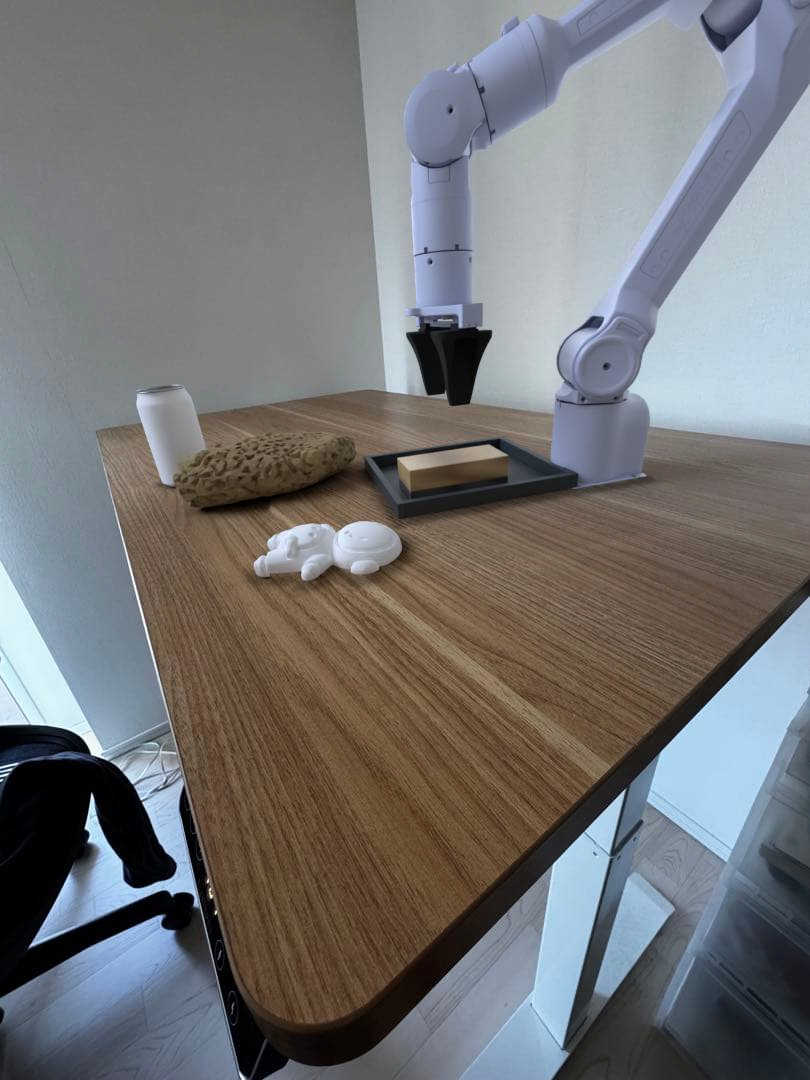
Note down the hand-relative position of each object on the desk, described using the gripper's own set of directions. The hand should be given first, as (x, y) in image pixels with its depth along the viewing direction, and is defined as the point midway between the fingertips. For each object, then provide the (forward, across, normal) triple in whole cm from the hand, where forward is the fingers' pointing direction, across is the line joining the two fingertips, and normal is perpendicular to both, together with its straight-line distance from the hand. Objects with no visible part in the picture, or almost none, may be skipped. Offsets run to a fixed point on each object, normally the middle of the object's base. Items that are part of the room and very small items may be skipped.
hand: (446, 399), depth 50 cm
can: (+10, -16, -32) cm, 37 cm away
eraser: (+9, +4, -1) cm, 10 cm away
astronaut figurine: (+10, +14, -16) cm, 23 cm away
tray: (+9, +1, +1) cm, 10 cm away
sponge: (+10, -6, -20) cm, 23 cm away
